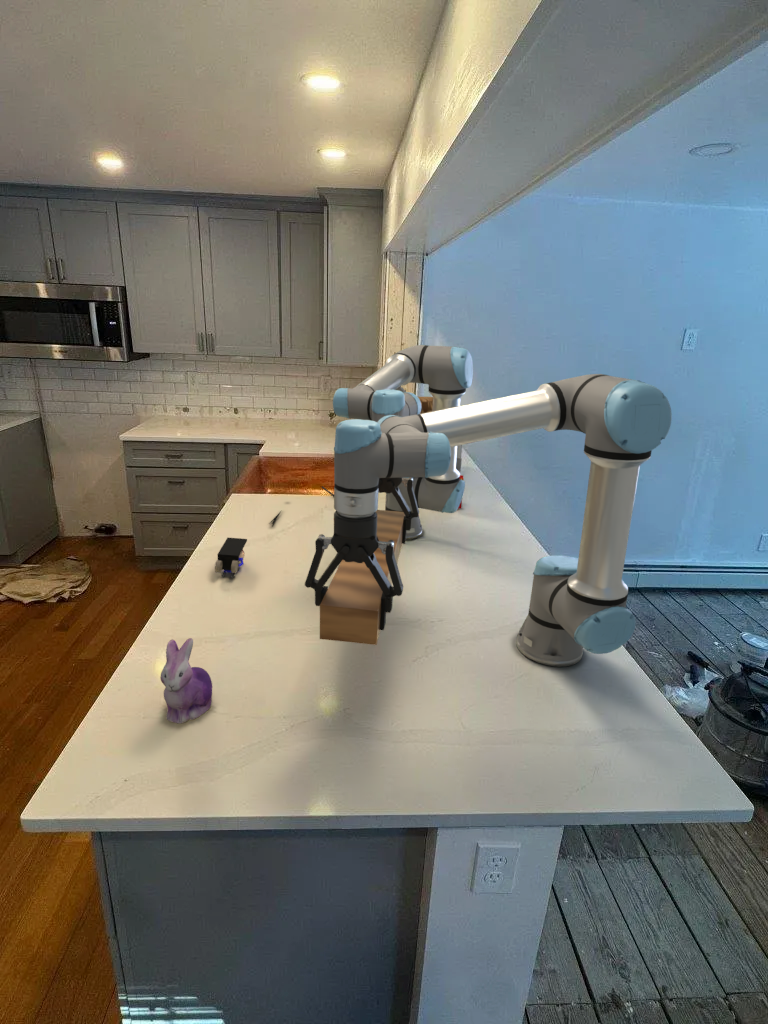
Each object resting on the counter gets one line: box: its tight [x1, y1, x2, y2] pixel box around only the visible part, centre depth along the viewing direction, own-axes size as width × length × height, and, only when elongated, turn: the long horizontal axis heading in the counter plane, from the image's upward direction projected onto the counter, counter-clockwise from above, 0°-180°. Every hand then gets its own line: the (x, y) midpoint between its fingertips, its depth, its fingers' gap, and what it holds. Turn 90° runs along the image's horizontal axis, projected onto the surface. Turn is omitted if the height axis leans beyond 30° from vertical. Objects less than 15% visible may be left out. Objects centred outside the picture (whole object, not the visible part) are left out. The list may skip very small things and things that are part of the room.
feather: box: [268, 510, 282, 527], centre depth 212 cm, size 2×28×2 cm
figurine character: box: [214, 537, 248, 578], centre depth 166 cm, size 7×8×15 cm
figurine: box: [159, 637, 213, 724], centre depth 107 cm, size 9×10×15 cm
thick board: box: [319, 509, 405, 646], centre depth 124 cm, size 53×10×7 cm, turn 173°
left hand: (382, 539), depth 145 cm, fingers closed on thick board, 10 cm apart
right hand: (353, 623), depth 105 cm, fingers closed on thick board, 10 cm apart
